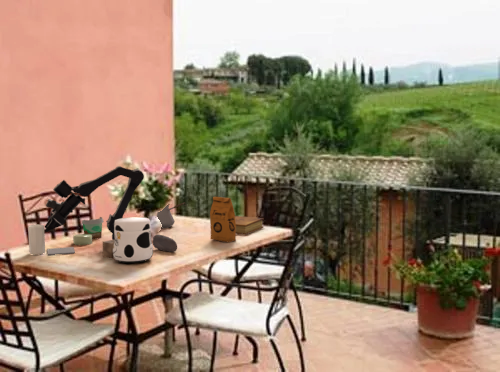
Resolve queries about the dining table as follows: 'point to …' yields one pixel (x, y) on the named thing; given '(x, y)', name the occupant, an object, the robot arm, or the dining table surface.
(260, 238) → the dining table surface
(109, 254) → the walnut box
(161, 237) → the grey oval stone
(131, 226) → the milk container
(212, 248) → the dining table surface
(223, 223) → the coffee package
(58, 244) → the dining table surface
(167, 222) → the coffee pot
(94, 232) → the food container
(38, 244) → the tumbler
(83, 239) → the sage green dome
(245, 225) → the diary
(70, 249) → the coaster
